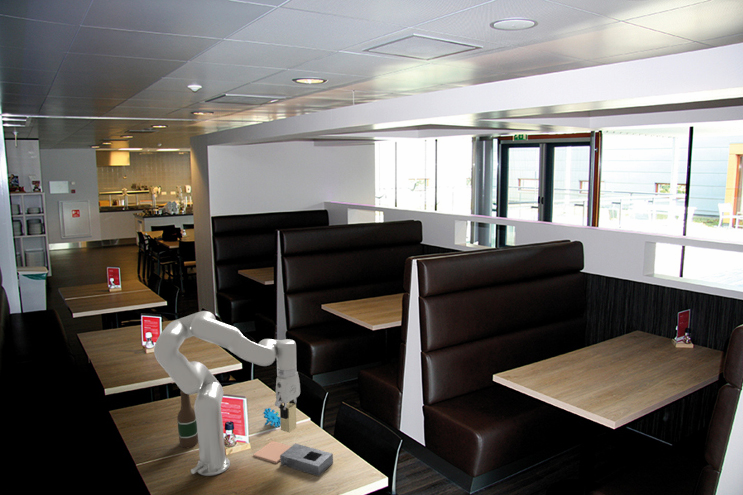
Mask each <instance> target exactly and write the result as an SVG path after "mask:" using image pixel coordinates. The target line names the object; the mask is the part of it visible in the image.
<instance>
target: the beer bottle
mask: <svg viewBox="0 0 743 495" xmlns="http://www.w3.org/2000/svg"><path fill="white" fill-rule="evenodd" d="M179 394H180V410H179V411H178V414H177V428H178V429H177V430H178V441H179V445H180V447H182V448H185V447H189V448H191V447H195V446H196V445H197V444H199V442H198V432H197V422H196V416H195V411H194V409H193V407H192V405H191V404H192V403H191V398H190V394H186V393H184V392H183V391H182V390H181V389H180V392H179Z"/></svg>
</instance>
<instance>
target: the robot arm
mask: <svg viewBox="0 0 743 495" xmlns="http://www.w3.org/2000/svg"><path fill="white" fill-rule="evenodd" d="M191 337H195V338H196V339H199V340H202V341H205V342H207V343H210V344H214V345H215V346H216V345H217V346H219V347H221V348H224V349H227V350H228V351H230V352H231V353H233V354H234V355H236V356H237V357H238V358H240V359H242V360H244V361H246V362H249V363H251V364H253V365H257V366H260V367H267V366H270V365H272V364H273V363H274V362H275V361H276V375H277V376H276V383H275V402H274V406H275V407H278V409H279V411H280V412H279V414H280V415H279V417H281V418H284V419H287V418H288V416H287V409H286V406H287V403H288V402H289V403H293V404H296V405H297V399H298V397H299V396H300V394H301V383H300V377H299V372H298V371H297V343H296V341H295V340H293V339H290V338H289V339H288V338H287V339H272V338H264V339H262V340H260V341H259V342H258V343H256V342H254V341H251V340H250V339H248V338H247V337H245V336H244V335H243V333H242V332H241V331H240V329H239V328H237V327H235V326H233V325H230V324H227V323H225V322H222V321H219V320H217V319H216V316H215V314H214V313H212V312H211V311H207V310H201V311H198V312H195V313H192V314H189V315H187V316H184V317H180V318H178V319H175V320H172V321H170V322H169V323H168V324H167V325H166V326H165V328H164V329H163V330H162V331H161V332H160V334H159V336H158V338H156V342H155V344H154V347H153V354H154V357H155V360H156V362H158V364H159V365H160V366H161V368H162V369H163V370H164V371H165V373H166V374H168V377H170V379H171V380H172V381H173V382H174V383H175V384H176V385H177V387H178V388H179V389H180V391H181V390H182V391H183V392H184V393H186V394H189V396H190V395H194V394H196V398H195V400H194V406H193V408H194V409H193V410H194V411H195V416H196V422H197V432H198V453H199V460H198V461H197V464H196V465H195V466H194V467H193V468H191V469H190V473H191V474H194V475H195V474H196V473H198V474H199V475H201V476H205V477H208V476H210V477H211V476H216V475H219V474H222V473H223V472H225V471H226V470H228V469H229V468H230V465H231V462H230V459H229V458H228V457H226V450H225V448H226V447H225V436H224V424H223V416H222V409H221V408H222V402H223V397H224V389H223V386H222V385H221V383H220V382H219V380H217V378H216V377H215V375H213V373H212V372H211V371H210V370H209V368H208V367H207V366H206V365H205V364H204V363H202V362H200V361H195V360H193V361H189V360H188V358H187V357H186V356H185V355H184V354H183V353H181V351H180V350H179V349H180V347H181V346H182V344H183V343H184V342H185V340H186V339H190V338H191ZM283 404H284V406H283Z"/></svg>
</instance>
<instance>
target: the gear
mask: <svg viewBox="0 0 743 495" xmlns="http://www.w3.org/2000/svg"><path fill="white" fill-rule="evenodd" d="M262 414H263V418H264V419H266V422H265V423H264V426H267V425H268V424H269V425H270V426H271V427H273V426H274V428H278V427H279V428H280V427H281V423H280V415H279V414H280V412H279V411H278V410H277V411H276V410H275V409H272V408H271V407H268V408H264V411H263V412H262Z"/></svg>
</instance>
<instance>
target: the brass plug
mask: <svg viewBox="0 0 743 495" xmlns="http://www.w3.org/2000/svg"><path fill="white" fill-rule="evenodd" d="M282 405H283V406H284V403H282ZM286 409H287V416H288V418H287V419H284V418H281V417H280V416H279V417H280V423H281V424H280V431H282V432H286V433H290V434H291V432H292V431H294V430H295V429H297V403H296V404H293V403H289V402H288V403H287V406H286Z"/></svg>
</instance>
